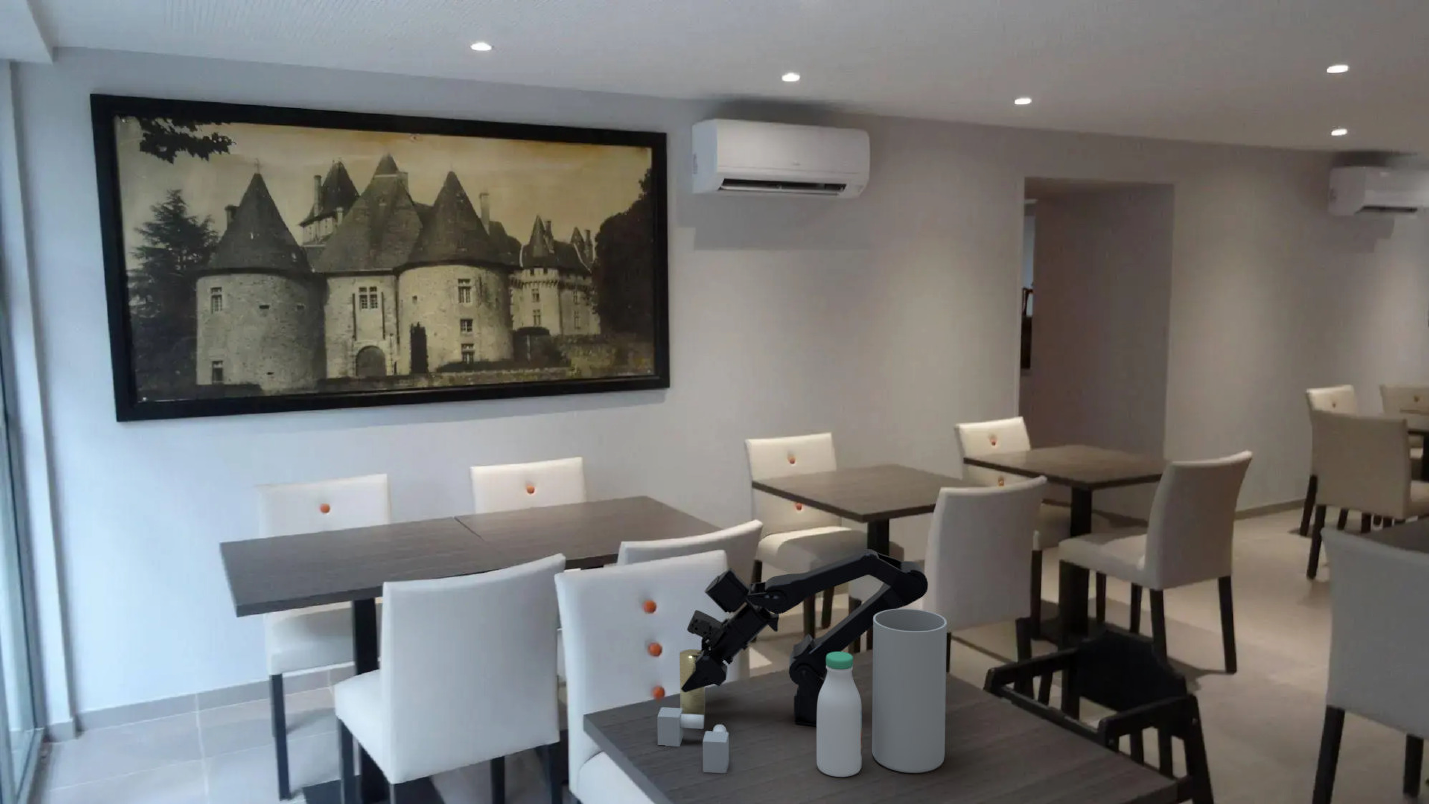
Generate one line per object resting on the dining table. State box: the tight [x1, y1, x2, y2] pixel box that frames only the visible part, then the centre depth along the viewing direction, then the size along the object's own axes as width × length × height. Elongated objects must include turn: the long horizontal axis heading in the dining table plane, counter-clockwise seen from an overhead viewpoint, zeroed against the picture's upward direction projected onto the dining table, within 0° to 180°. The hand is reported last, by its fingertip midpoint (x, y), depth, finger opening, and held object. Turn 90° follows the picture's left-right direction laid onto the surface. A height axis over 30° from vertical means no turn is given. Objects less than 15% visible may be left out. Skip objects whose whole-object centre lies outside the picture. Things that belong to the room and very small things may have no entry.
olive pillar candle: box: [679, 648, 706, 718], centre depth 189 cm, size 5×5×12 cm
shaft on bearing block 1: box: [656, 707, 705, 748], centre depth 178 cm, size 8×4×6 cm, turn 83°
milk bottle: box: [816, 651, 863, 778], centre depth 167 cm, size 8×8×20 cm
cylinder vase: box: [871, 608, 948, 774], centre depth 170 cm, size 12×12×25 cm
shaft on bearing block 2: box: [702, 724, 730, 774], centre depth 170 cm, size 8×4×6 cm, turn 173°
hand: (685, 682), depth 189 cm, fingers open, 8 cm apart
